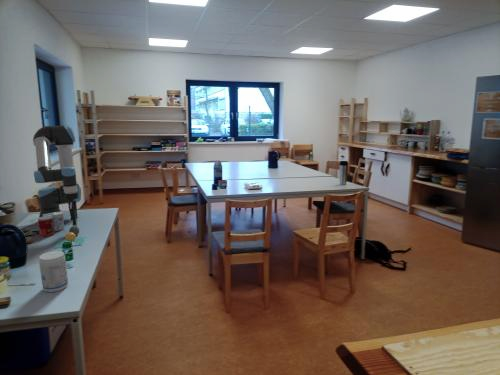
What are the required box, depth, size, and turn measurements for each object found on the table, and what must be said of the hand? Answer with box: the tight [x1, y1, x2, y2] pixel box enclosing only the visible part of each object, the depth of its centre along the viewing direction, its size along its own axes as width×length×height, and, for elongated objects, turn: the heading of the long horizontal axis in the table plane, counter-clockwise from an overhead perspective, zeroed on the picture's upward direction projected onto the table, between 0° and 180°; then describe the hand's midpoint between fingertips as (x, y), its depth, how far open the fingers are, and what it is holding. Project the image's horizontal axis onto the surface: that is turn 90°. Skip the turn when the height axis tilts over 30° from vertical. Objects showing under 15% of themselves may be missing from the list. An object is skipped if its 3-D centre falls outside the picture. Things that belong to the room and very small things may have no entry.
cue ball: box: [68, 225, 80, 235], centre depth 217 cm, size 6×6×6 cm
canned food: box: [37, 216, 56, 238], centre depth 218 cm, size 8×8×11 cm
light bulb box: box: [43, 211, 65, 232], centre depth 227 cm, size 11×7×11 cm, turn 131°
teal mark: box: [54, 236, 86, 249], centre depth 205 cm, size 14×14×1 cm
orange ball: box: [64, 232, 77, 242], centre depth 206 cm, size 6×6×6 cm
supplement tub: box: [38, 250, 69, 293], centre depth 150 cm, size 10×10×15 cm
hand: (75, 229), depth 222 cm, fingers closed
